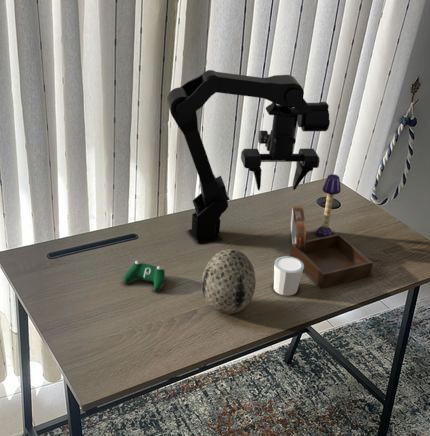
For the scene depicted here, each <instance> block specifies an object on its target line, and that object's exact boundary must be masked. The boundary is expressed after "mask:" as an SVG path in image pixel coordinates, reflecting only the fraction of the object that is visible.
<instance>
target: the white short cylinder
mask: <svg viewBox="0 0 430 436" xmlns="http://www.w3.org/2000/svg"><path fill="white" fill-rule="evenodd" d="M273 268H274V270H273V290H274V291H275V292H276V293H277V294H279V295H282V296H286V297H288V296H289V297H290V296H293V295H295V294H296V293H297V292H298V289H299V285H300V282H301V280H302V275H303V272H304V271H303V269H304V264H303V262H302V261H300V260H299V259H297V258H294V257H290V255H286V256H280V257H278V258H276V259H275V260H274V267H273Z"/></svg>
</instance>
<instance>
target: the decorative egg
mask: <svg viewBox="0 0 430 436" xmlns="http://www.w3.org/2000/svg"><path fill="white" fill-rule="evenodd" d="M256 282H257V281H256V273H255V268H254V266H253V264H252V262H251V260H250V259H249V258H248V256H247V255H246V254H244V253H243V252H242V251H240V250H238V249H234V248H227V249H223V250H220V251H217V253H215V254H214V255H213V256H212V257H211V259H210V260H209V261H208V262H207V264H206V266H205V268H204V271H203V274H202V278H201V292H202V295H203V298H204V300H205V302H206V303H207V305H208V306H209V307H210V308H211V309H212V310H214V311H216V312H218V313H220V314H224V315H231V314H236V313H238V312H240V311H242V310H244V309H245V308H246V307H247V306H248V305H249V304H250V302H251V301H252V299H253V296H254V294H255V290H256V284H257V283H256Z"/></svg>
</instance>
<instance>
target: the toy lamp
mask: <svg viewBox="0 0 430 436" xmlns="http://www.w3.org/2000/svg"><path fill="white" fill-rule="evenodd" d="M323 183H324V184H323V186H322V191H323V193H325V194H326V195H327V196H326V201H325V207H324V212H323V221H322V225H321V226H319V227H317V229H316V232H315V233H316V234H315V235H317V236H318V237H319V238H321V237H326V236H331V235H333V231H332V229H331V228H330V227H329V226H330V221H331V215H332V214H331V213H332V207H333V201H334V196H335V195H338V194H340V193H341V191H342V189H341V188H342V187H341V179H340V176H339V175H337V174H333V173H331V174H328V175H327V177H326V179H325V181H324V182H323Z"/></svg>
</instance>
